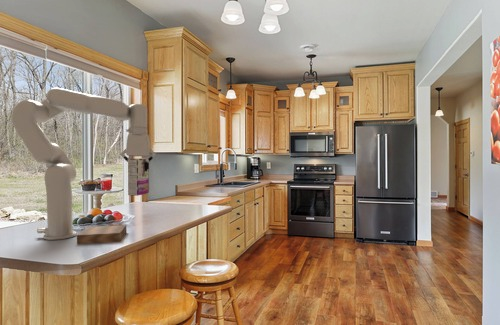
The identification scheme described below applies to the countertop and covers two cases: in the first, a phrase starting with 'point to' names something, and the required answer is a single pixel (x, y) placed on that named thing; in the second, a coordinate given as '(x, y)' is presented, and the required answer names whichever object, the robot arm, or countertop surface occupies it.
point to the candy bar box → (137, 177)
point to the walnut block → (101, 234)
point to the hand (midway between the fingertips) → (138, 170)
